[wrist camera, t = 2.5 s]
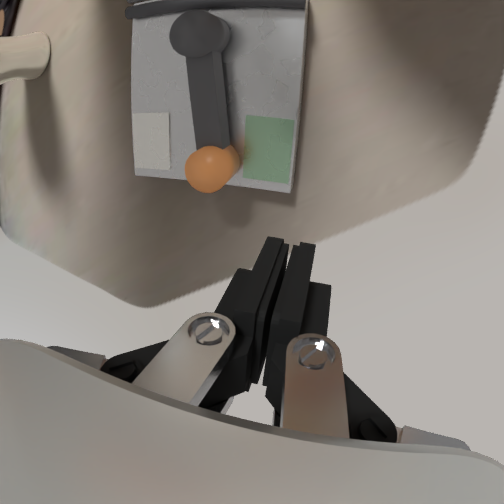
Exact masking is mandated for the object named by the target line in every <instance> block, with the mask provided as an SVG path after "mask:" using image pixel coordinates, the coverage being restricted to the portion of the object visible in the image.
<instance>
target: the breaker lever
mask: <svg viewBox="0 0 504 504" xmlns="http://www.w3.org/2000/svg"><path fill="white" fill-rule="evenodd" d="M229 38H230V31H229V27H228V25H227V24H226V22H225V21H224V20H223V19H221V18H219V17H217V16H215V15H213V14H211V13H209V12H207V11H204V10H198V9H196V10H190V11H187V12H185V13H183V14H181V15H180V16H179V17H178V18H177V19H176V20H175V21H174V23H173V24H172V26H171V29H170V33H169V39H170V43H171V46H172V47H173V49H174V50H175V51H176V52H177V53H178V54H180V55H182V56H185V57H186V66H187V76H188V85H189V93H190V102H191V110H192V118H193V126H194V134H195V142H196V149H197V151H195V152H193V153H192V154H191V155H190V156H189V157H188V159H187V160H186V163H185V175H186V178H187V180H188V182H189V183H190V185H191V186H192V187H193V188H195V189H196V190H198V191H200V192H203V193H213V192H216V191H218V190H219V189H221V188H222V187H223V186H224V185H225V184H226V183H227V182H228V181H229V180H230V179H231V178H232V177H233V176H234V175H235V174H236V172H237V171H238V168H239V164H240V160H239V156H238V153H237V151H236V150H235V149H234V147H233V146H231V145H230V136H229V127H228V117H227V107H226V98H225V88H224V78H223V68H222V58H221V52H222V51H223V50H224V49H225V48H226V46H227V44H228V42H229Z"/></svg>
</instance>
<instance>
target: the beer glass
mask: <svg viewBox="0 0 504 504" xmlns="http://www.w3.org/2000/svg"><path fill="white" fill-rule="evenodd" d="M49 58H50V41H49V39H48V37H47V35H46V34H45V33H43V32H40V31H38V32H33V33H29V34H26V35H21V36H0V85H1V84H3V83H5V82H8V81H12V80H17V79H27V80H33V79H36V78H38V77H39V76H40V75H41V74H42V73H43V72H44V70H45V69H46V67H47V64H48V61H49Z"/></svg>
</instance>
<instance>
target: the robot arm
mask: <svg viewBox="0 0 504 504" xmlns="http://www.w3.org/2000/svg"><path fill="white" fill-rule="evenodd" d="M315 247H316V245H315V244H309V243H303V242H300V246H297V245H293V249H292V252H291V255H290V259H289V262H288V266H287V269H286V265H287V257H288V249H289V244H285V243H284V239H281V238H275V237H269V236H268V237H267V239H266V241H265V244H264V246H263V248H262V250H261V252H260V254H259V256H258V259H257V261H256V263H255V265H254V267H253V269H252V270H247V269H241V268H239V269H237V271H236V273H235V275H234V276H233V278H232V280H231V282H230V284H229V286H228V288H227V290H226V291H225V293H224V295H223V297H222V299H221V301H220V303H219V304H218V306H217V308H216V310H215V312H214V313H208V312H205V313H200V314H197V315H194V316H192V317H191V318H189V319H188V320H187V321H186V322H185V323H184V324H183V325H182V327H181V328H180V329H179V330H178V331H177V332H176V333H175V334H174V335H173V337H172V338H171V339H170V340H167V341H164V342H161V343H157V344H154V345H150V346H147V347H144V348H140V349H137V350H133V351H130V352H127V353H123V354H120V355H117V356H114V357H112V358H110V359H106V358H105V355H99V354H93V353H88V352H83V351H78V350H73V349H68V348H63V347H58V346H50V347H44V346H41V345H38V344H35V343H31V342H27V341H23V340H15V339H0V504H504V466H503V465H502V464H501V463H499V462H498V461H496V460H494V459H492V458H490V457H487V456H485V455H482V454H479V453H477V452H473V451H471V450H470V448H469V447H468V446H467V444H465V442H463V441H461V440H458V439H455V438H451V437H446V436H442V435H438V434H434V433H431V432H426V431H423V430H419V429H416V428H412V427H409V426H404V427H403V428H399V427H396V426H395V425H394V423H393V422H392V420H391V419H390V418H389V417H388V416H387V415H386V414H385V413H384V412H383V411H382V410H381V409H380V408H379V407H378V406H377V405H376V404H375V403H374V402H373V401H372V400H371V399H370V398H369V397H368V396H367V395H366V394H365V393H363V392H362V390H361V389H360V388H359V387H358V386H357V385H355V383H354V382H353V381H351V380H350V378H349V377H348V376H347V375H346V374H344V372H343V366H342V358H341V353H340V350H339V348H338V346H337V345H336V344H335V342H333V341H332V340H330V339H329V338H327V328H328V318H329V307H330V297H331V285H327V284H322V283H316V282H310V276H311V270H312V264H313V259H314V253H315ZM265 359H266V363H265V370H264V377H263V386H267V389H266V395H265V397H266V398H267V399H268V401H269V402H270V403H271V404H272V406H273V407H274V412H273V422H272V426H271V425H266V424H262V423H257V422H253V421H249V420H245V419H241V418H237V417H233V416H229V415H225V414H226V412H227V410H228V409H229V407H230V405H231V404H232V401H233V399H234V396H235V395H238V394H240V393H242V392H244V391H247V392H248V391H249V389H250V386H251V383H254V384H257V383H258V381H259V378H260V374H261V371H262V368H263V365H264V362H265Z"/></svg>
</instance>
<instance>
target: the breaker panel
mask: <svg viewBox="0 0 504 504" xmlns="http://www.w3.org/2000/svg"><path fill="white" fill-rule="evenodd" d="M154 1H160V0H149V1H144V2H140V3H135V4H134V6H135V5H139V4H144V3H149V2H154ZM308 2H309V0H306V6H305V8H295V7H272V6H239V7H217V8H203V9H198V10H204V11H207V12H209V13H211V14H213V15H215V16H217V17H219V18H221V19H223V20H224V21H225V22H226V24H227V25H228V27H229V31H230V38H229V42H228V44H227V46H226V48H225V49H224V50H223V51H222V52H221V58H222V68H223V78H224V88H225V98H226V107H227V117H228V127H229V136H230V145H231V146H233V147H234V149H235V150H236V151H237V153H238V156H239V160H240V164H239V168H238V171H237V172H236V174H235V175H234V176H233V177H232V178H231V179H230V180H229V181H228V182H227V183H226V185H234V186H242V187H249V188H257V189H264V190H271V191H278V192H285V193H290V192H291V190H292V187H293V183H294V174H295V164H296V154H297V144H298V134H299V123H300V112H301V101H302V89H303V76H304V63H305V50H306V35H307V19H308ZM193 10H196V9H193ZM187 11H190V10H184V11H176V12H168V13H161V14H155V15H149V16H144V17H139V18H134V19H133V26H132V51H131V110H132V136H133V154H134V168H135V175H136V176H149V177H160V178H171V179H181V180H187V178H186V175H185V163H186V160H187V159H188V157H189V156H190V155H191V154H192V153H193V152H195V151H197V149H196V142H195V134H194V126H193V118H192V110H191V102H190V93H189V85H188V76H187V66H186V57H185V56H182V55H180V54H178V53H177V52H176V51H175V50H174V49H173V47H172V46H171V43H170V39H169V33H170V29H171V26H172V24H173V23H174V21H175V20H176V19H177V18H178V17H179V16H180V15H181V14H183V13H185V12H187Z"/></svg>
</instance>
